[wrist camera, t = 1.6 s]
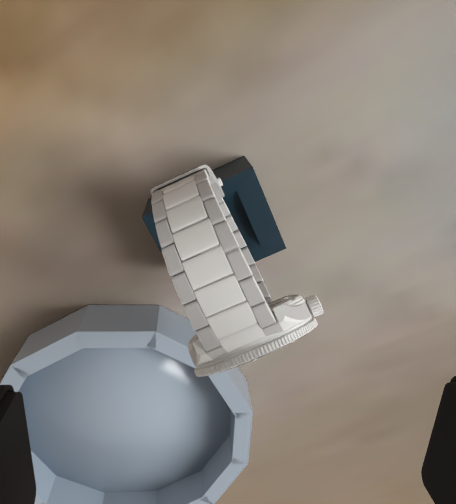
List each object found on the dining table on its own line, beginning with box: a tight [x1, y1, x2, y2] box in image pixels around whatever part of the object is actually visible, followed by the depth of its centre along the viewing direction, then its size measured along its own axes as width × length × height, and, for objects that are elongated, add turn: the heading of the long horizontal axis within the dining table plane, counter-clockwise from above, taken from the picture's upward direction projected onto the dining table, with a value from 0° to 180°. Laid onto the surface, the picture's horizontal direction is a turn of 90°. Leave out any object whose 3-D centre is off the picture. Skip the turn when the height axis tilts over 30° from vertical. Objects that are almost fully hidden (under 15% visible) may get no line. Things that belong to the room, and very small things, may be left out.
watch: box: [142, 156, 323, 377], centre depth 18 cm, size 6×8×11 cm
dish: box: [0, 305, 253, 504], centre depth 26 cm, size 15×15×3 cm
